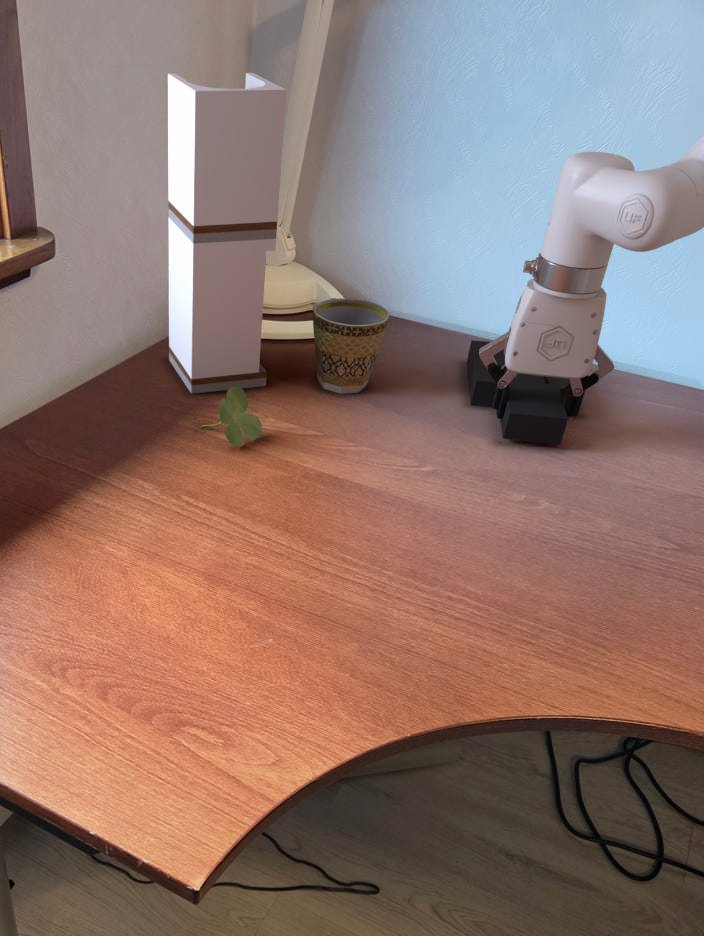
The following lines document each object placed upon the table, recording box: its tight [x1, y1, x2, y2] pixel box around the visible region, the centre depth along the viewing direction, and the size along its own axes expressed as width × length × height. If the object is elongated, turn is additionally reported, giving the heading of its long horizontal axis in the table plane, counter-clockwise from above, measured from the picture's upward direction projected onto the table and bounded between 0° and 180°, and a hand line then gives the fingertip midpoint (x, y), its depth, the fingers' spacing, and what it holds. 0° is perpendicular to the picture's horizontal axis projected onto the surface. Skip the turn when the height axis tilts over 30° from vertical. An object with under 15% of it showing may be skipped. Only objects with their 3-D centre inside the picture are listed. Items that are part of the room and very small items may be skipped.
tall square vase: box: [167, 72, 287, 395], centre depth 114 cm, size 11×11×35 cm
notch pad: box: [465, 340, 586, 417], centre depth 124 cm, size 14×14×4 cm
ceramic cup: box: [312, 297, 390, 395], centre depth 122 cm, size 13×10×10 cm
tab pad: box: [499, 373, 569, 446], centre depth 115 cm, size 7×13×4 cm, turn 170°
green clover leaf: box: [200, 386, 263, 448], centre depth 111 cm, size 7×8×6 cm
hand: (529, 416), depth 115 cm, fingers closed on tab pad, 7 cm apart
